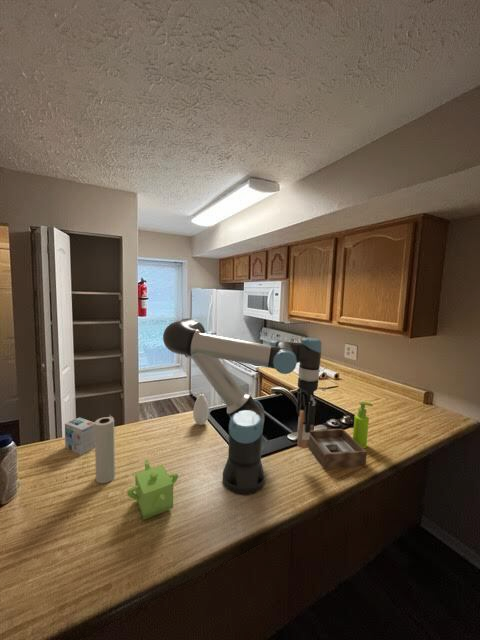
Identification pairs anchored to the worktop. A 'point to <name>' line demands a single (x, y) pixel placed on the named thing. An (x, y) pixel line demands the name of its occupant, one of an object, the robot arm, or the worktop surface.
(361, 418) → the soap dispenser
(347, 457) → the box
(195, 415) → the sauce bottle
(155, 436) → the worktop surface
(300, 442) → the peg
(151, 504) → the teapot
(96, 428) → the paper towel roll
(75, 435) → the light bulb box
